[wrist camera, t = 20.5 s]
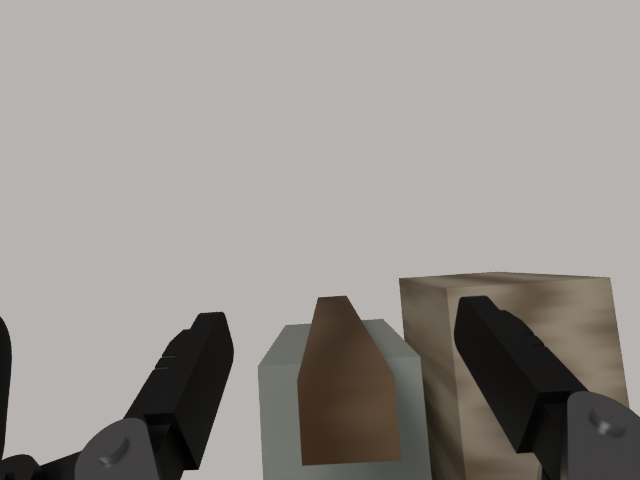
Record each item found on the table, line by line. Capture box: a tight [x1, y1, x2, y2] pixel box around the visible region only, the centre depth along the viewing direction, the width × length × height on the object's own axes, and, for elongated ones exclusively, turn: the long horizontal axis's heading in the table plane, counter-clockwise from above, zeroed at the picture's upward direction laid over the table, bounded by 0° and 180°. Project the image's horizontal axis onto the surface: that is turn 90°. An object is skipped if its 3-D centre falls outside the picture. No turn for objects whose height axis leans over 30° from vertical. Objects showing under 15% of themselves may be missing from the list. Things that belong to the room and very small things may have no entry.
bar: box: [297, 296, 401, 466], centre depth 20 cm, size 3×22×2 cm, turn 179°
